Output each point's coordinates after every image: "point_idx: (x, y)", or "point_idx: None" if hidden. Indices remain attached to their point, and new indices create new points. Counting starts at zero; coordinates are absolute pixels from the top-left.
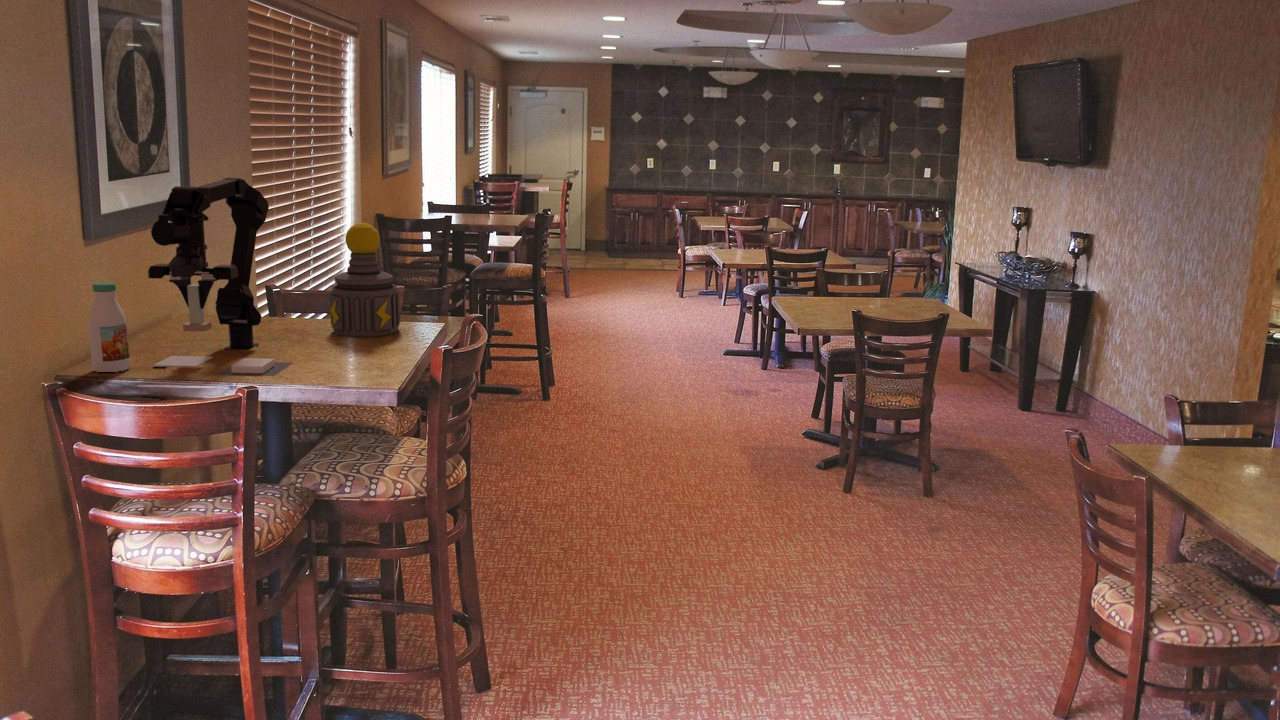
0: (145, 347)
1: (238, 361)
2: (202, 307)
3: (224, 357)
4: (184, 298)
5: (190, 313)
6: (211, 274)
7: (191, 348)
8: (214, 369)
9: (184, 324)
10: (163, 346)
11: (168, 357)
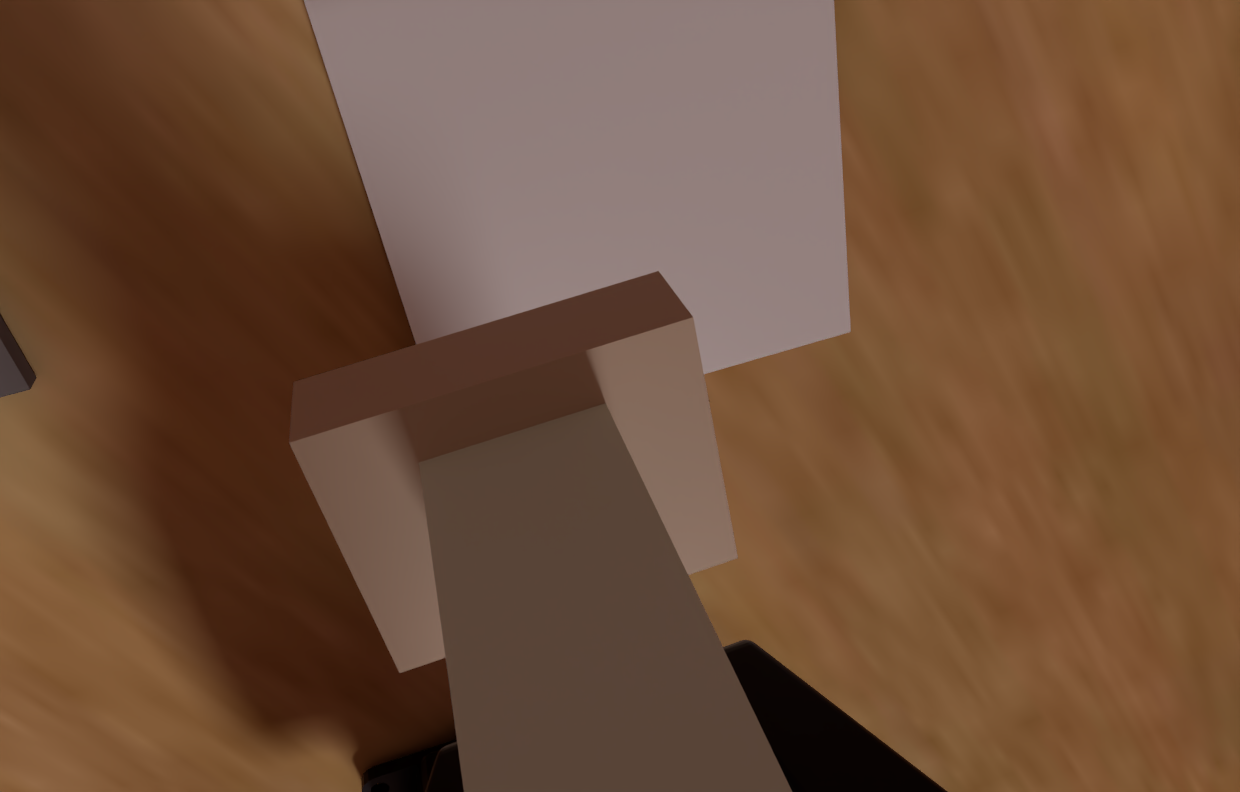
0: (1187, 534)
1: (28, 389)
2: (435, 772)
3: None
4: (922, 789)
5: (633, 531)
6: None
7: (861, 642)
8: (49, 23)
9: (676, 341)
10: (1079, 605)
11: (846, 265)
